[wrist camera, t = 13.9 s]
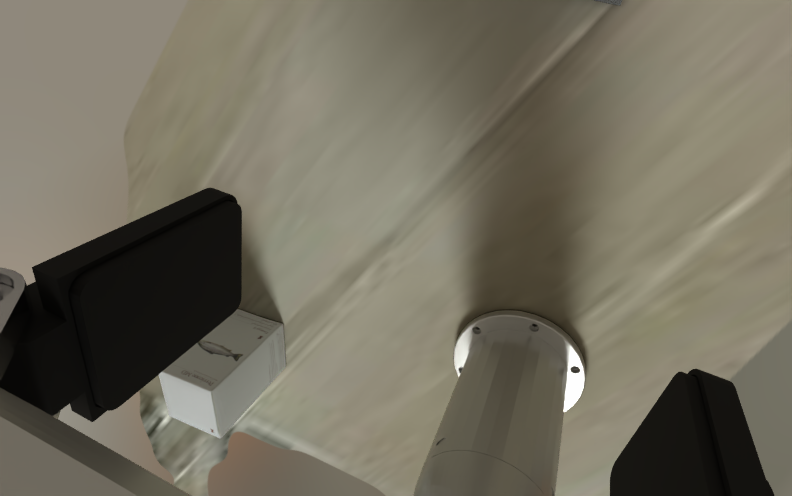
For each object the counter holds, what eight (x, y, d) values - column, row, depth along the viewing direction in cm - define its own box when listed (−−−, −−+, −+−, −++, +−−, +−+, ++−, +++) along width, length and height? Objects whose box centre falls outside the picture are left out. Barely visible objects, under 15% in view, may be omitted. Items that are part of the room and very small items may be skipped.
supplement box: (284, 321, 57) (212, 392, 46) (287, 367, 60) (220, 442, 50) (235, 305, 59) (155, 369, 49) (240, 350, 63) (167, 418, 52)
